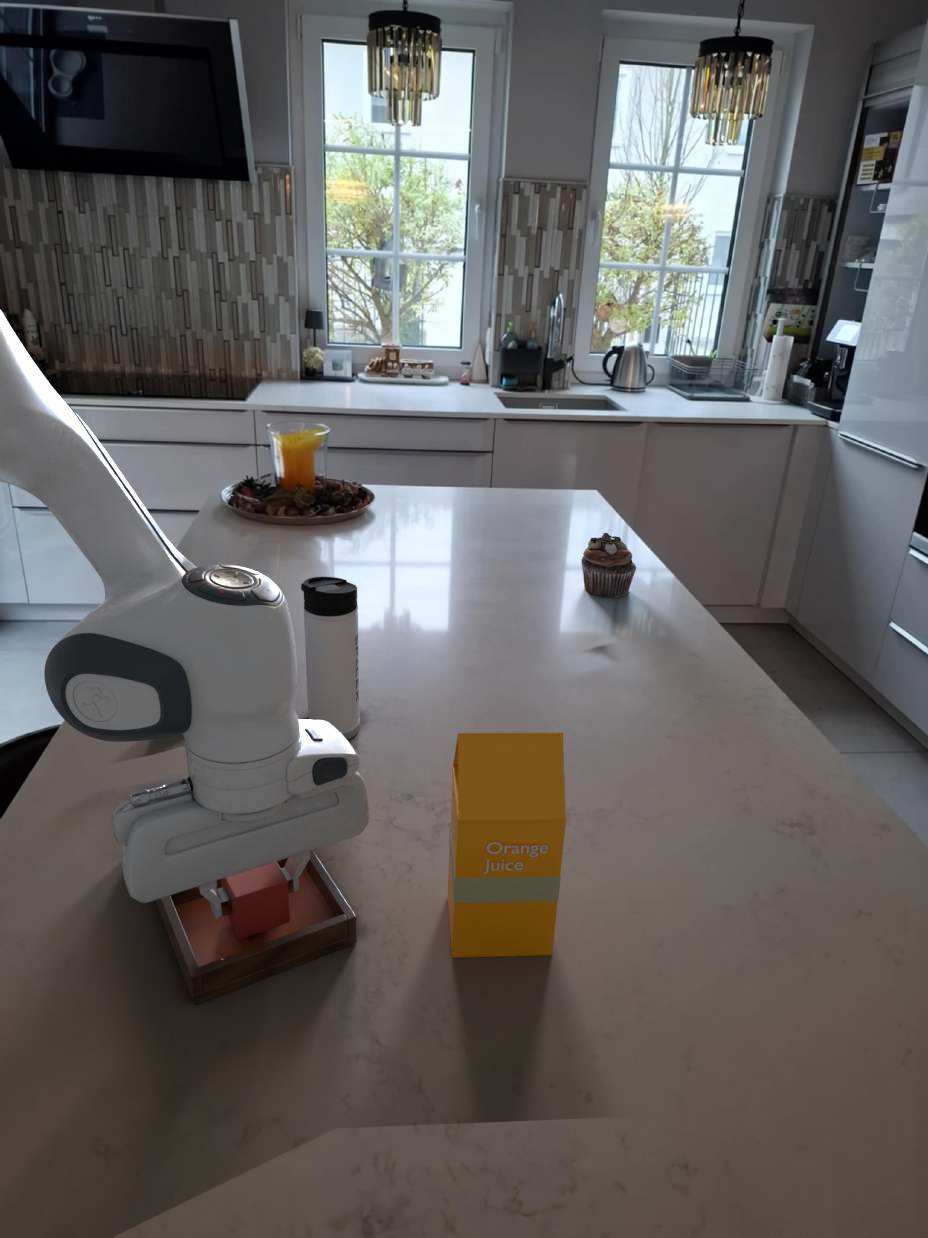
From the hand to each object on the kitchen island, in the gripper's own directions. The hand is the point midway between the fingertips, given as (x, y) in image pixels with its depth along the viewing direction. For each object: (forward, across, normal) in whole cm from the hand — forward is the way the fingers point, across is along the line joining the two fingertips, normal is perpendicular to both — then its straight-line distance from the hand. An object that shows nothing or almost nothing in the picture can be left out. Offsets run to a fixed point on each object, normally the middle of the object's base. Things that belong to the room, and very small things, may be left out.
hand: (256, 900), depth 75 cm
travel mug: (+4, +19, +29) cm, 35 cm away
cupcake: (+4, +81, +52) cm, 96 cm away
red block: (+2, 0, 0) cm, 2 cm away
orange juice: (+4, +19, -9) cm, 22 cm away
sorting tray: (+3, 0, +6) cm, 7 cm away
